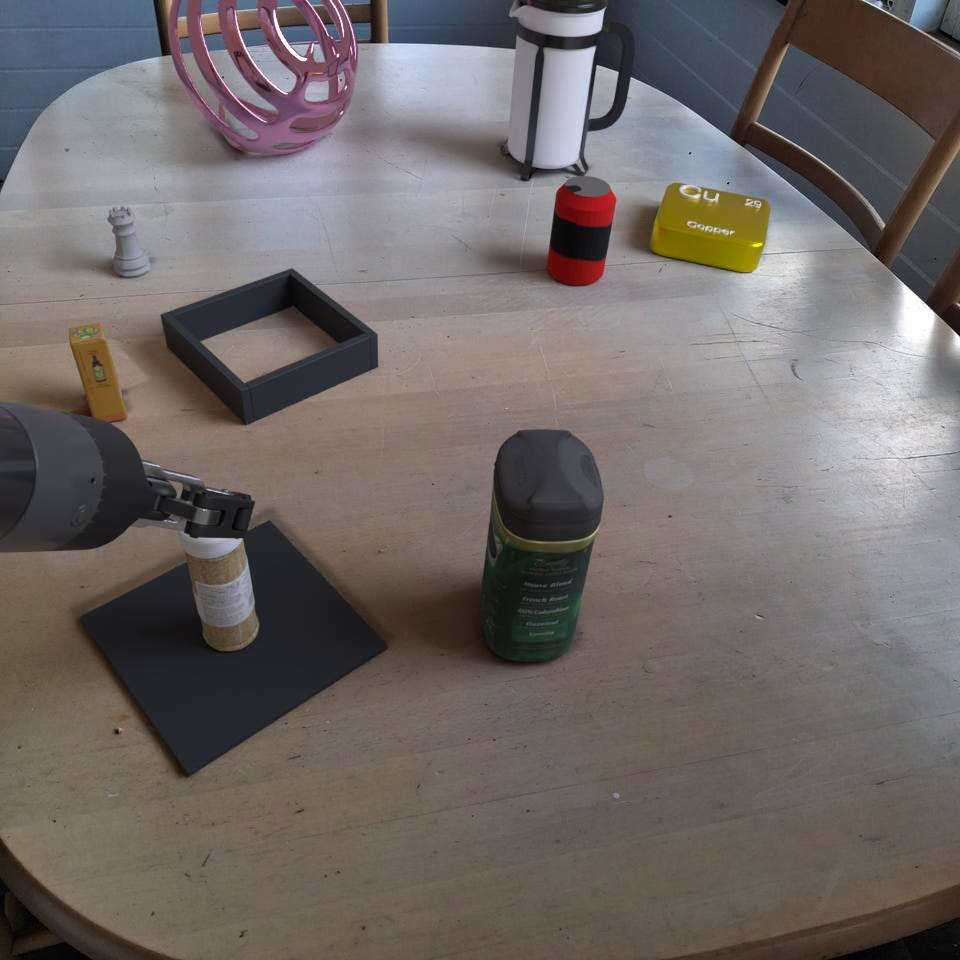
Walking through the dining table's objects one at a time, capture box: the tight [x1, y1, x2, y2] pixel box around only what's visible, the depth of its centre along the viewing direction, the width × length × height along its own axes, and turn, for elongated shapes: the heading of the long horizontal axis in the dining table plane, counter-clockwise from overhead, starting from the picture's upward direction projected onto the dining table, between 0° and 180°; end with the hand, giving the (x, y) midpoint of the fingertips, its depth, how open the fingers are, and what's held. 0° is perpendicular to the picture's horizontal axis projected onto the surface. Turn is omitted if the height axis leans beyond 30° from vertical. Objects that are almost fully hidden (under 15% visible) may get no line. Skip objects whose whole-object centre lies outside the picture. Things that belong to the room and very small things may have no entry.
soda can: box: [546, 175, 617, 287], centre depth 116 cm, size 8×8×12 cm
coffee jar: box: [479, 428, 605, 663], centre depth 71 cm, size 10×8×19 cm
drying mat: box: [79, 519, 389, 778], centre depth 74 cm, size 18×18×1 cm
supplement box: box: [68, 322, 128, 423], centre depth 90 cm, size 3×3×10 cm
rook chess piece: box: [107, 205, 152, 279], centre depth 111 cm, size 4×4×8 cm
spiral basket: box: [167, 0, 359, 155], centre depth 135 cm, size 28×28×27 cm
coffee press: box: [499, 0, 636, 182], centre depth 134 cm, size 17×16×30 cm
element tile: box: [649, 182, 772, 273], centre depth 127 cm, size 15×15×5 cm
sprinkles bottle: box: [176, 530, 259, 651], centre depth 69 cm, size 5×5×14 cm
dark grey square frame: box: [160, 267, 379, 426], centre depth 101 cm, size 17×17×4 cm
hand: (188, 492), depth 63 cm, fingers open, 8 cm apart
